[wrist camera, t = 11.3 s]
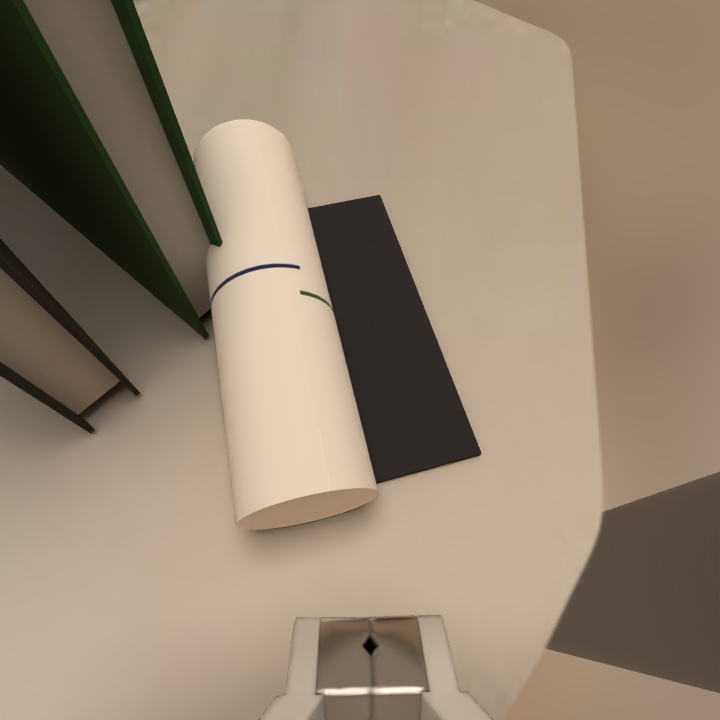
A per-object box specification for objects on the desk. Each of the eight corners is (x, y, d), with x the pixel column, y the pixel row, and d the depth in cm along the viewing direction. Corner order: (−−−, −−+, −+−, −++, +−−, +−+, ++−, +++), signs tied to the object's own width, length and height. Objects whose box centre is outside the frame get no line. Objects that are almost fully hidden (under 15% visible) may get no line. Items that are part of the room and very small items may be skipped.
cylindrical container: (226, 537, 25) (190, 195, 36) (349, 514, 28) (282, 206, 39) (251, 503, 19) (199, 109, 30) (402, 479, 23) (305, 129, 33)
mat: (379, 198, 39) (379, 194, 38) (480, 455, 29) (481, 453, 29) (206, 231, 37) (204, 227, 36) (253, 517, 27) (252, 515, 27)
